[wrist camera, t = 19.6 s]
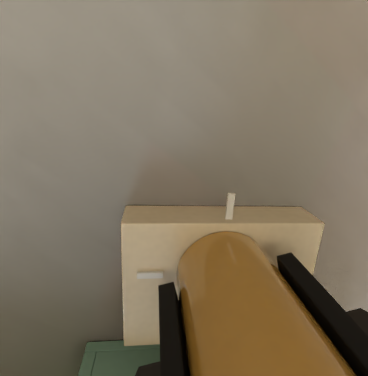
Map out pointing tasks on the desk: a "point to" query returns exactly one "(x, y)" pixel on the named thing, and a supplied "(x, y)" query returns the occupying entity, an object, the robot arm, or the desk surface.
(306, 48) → the desk surface
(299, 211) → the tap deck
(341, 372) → the tap handle
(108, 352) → the basin
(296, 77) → the desk surface
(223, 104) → the desk surface
